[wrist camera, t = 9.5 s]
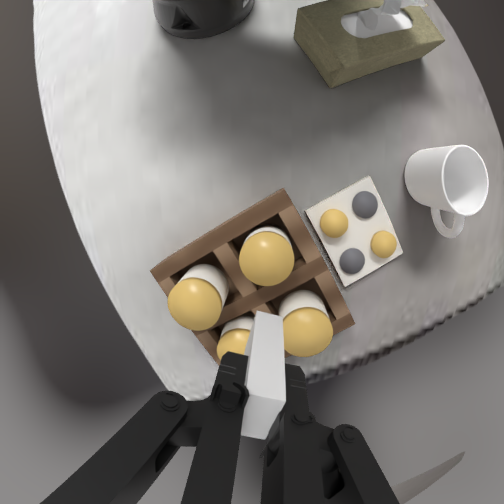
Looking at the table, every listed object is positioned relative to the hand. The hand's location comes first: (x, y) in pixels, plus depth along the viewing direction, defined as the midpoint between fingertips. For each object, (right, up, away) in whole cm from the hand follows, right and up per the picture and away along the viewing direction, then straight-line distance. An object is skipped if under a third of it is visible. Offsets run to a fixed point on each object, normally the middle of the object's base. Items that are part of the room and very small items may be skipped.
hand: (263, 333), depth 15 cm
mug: (+25, +14, +18) cm, 34 cm away
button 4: (+6, -3, +19) cm, 20 cm away
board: (0, 0, +24) cm, 23 cm away
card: (+14, +7, +20) cm, 26 cm away
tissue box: (+15, +35, +13) cm, 40 cm away
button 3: (+1, +5, +20) cm, 21 cm away
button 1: (-7, 0, +19) cm, 20 cm away
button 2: (-2, -7, +24) cm, 25 cm away
